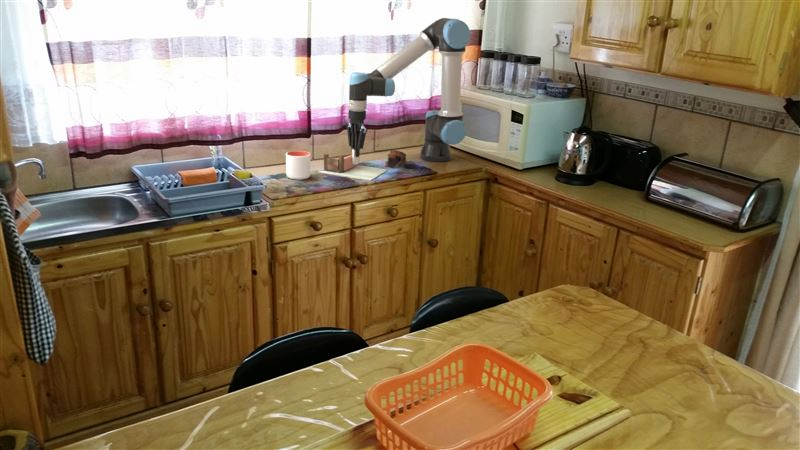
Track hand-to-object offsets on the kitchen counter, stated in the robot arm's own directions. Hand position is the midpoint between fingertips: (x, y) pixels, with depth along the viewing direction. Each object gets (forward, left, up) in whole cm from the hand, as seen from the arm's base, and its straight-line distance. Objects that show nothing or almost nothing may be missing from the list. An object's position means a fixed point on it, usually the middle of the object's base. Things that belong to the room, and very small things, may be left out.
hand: (355, 163), depth 280 cm
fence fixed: (+6, +8, -3) cm, 11 cm away
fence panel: (+2, +1, -2) cm, 3 cm away
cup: (+16, +22, -3) cm, 28 cm away
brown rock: (-14, -16, -3) cm, 21 cm away
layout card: (-1, +3, -3) cm, 4 cm away
